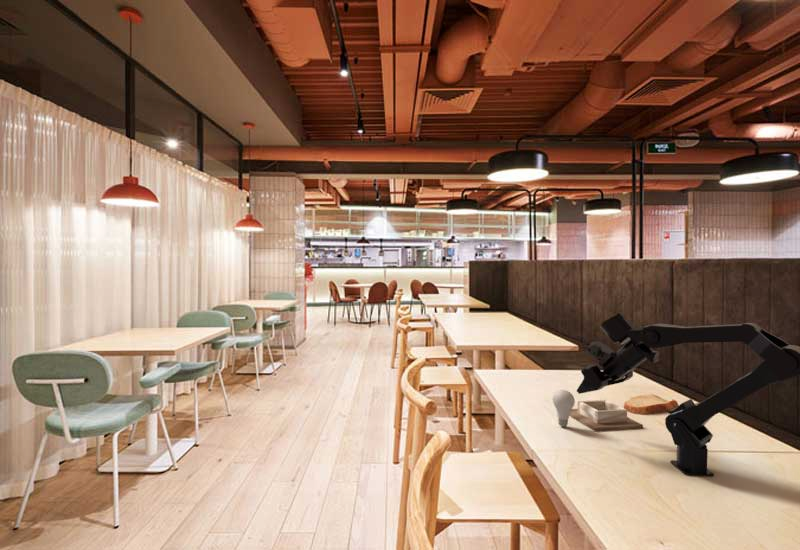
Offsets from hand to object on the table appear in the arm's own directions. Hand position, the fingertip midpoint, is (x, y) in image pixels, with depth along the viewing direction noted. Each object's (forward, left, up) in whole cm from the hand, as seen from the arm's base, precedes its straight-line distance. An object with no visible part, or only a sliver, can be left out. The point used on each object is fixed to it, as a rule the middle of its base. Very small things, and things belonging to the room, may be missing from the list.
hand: (586, 389), depth 122 cm
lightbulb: (+5, +5, -13) cm, 15 cm away
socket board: (+12, -9, -13) cm, 20 cm away
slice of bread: (+26, -31, -13) cm, 43 cm away
